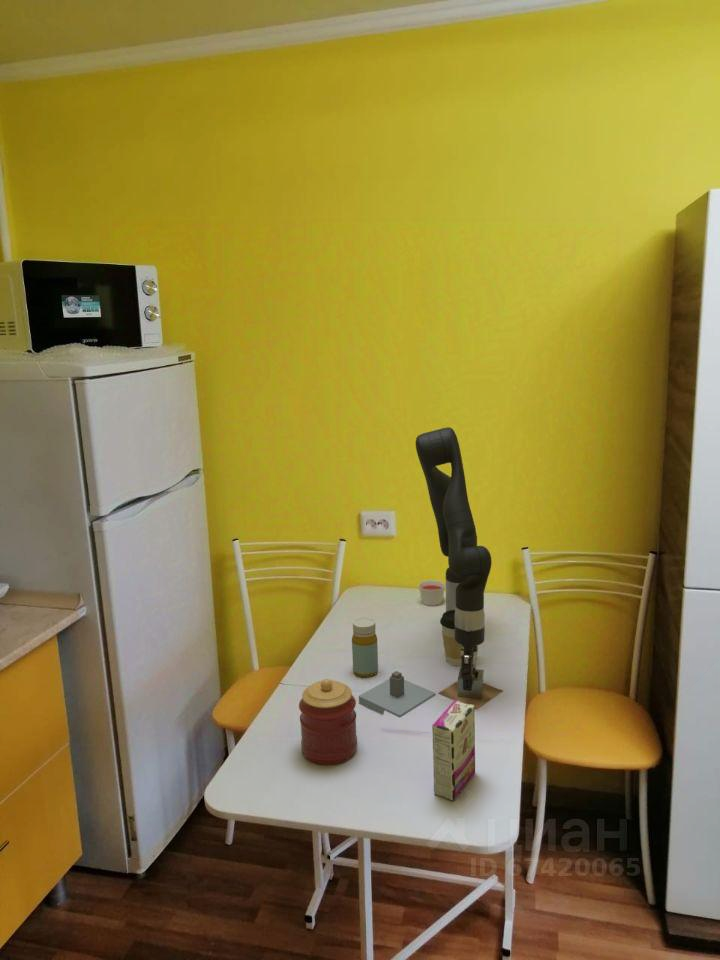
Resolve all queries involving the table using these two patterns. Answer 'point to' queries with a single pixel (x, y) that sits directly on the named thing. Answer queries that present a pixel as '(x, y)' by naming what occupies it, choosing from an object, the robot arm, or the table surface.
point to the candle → (432, 592)
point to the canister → (328, 722)
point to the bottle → (364, 648)
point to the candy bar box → (454, 749)
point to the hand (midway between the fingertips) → (469, 681)
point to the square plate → (395, 696)
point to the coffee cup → (450, 639)
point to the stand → (487, 695)
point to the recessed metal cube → (476, 685)
